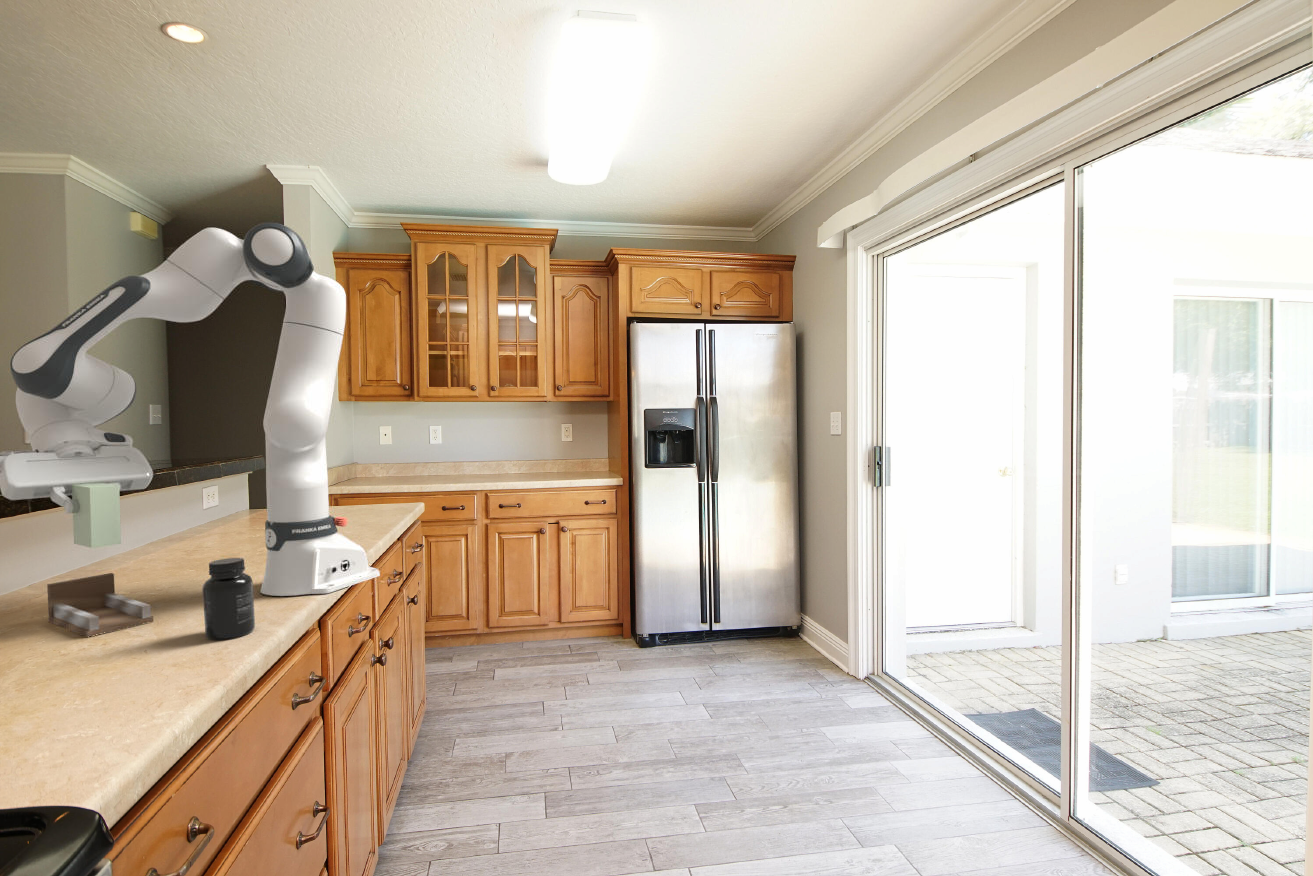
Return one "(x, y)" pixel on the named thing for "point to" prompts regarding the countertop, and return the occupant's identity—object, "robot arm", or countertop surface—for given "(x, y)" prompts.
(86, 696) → the countertop surface
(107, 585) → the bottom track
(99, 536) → the pale green block
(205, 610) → the supplement bottle
